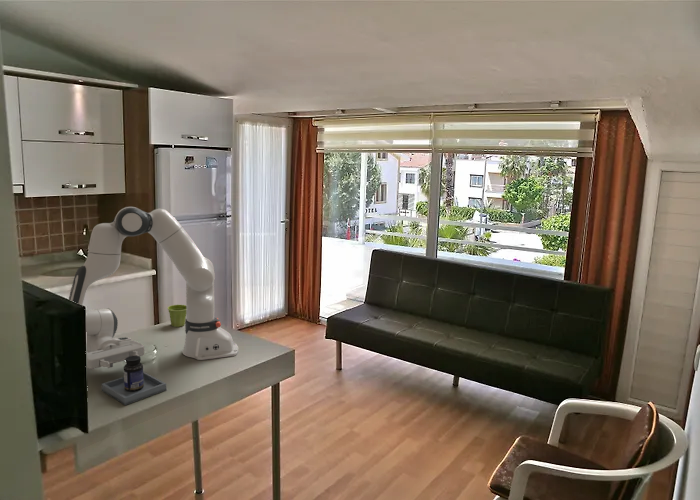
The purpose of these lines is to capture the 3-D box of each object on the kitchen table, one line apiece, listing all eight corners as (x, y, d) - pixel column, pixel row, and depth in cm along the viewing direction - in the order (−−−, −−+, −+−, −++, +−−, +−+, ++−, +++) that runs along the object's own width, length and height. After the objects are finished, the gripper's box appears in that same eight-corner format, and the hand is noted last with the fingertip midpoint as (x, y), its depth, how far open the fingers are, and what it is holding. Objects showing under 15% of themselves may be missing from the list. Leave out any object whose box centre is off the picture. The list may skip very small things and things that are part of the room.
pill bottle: (146, 385, 178) (146, 355, 176) (138, 392, 172) (137, 362, 170) (129, 383, 179) (128, 353, 177) (120, 391, 173) (119, 360, 171)
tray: (142, 377, 186) (142, 370, 185) (166, 390, 177) (166, 383, 176) (101, 390, 174) (101, 383, 174) (125, 405, 165) (124, 398, 165)
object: (190, 321, 247) (189, 304, 246) (186, 328, 238) (186, 310, 236) (169, 321, 246) (169, 304, 244) (165, 328, 237) (165, 310, 235)
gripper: (76, 349, 179) (93, 361, 170) (133, 336, 194) (151, 346, 185) (77, 366, 180) (94, 378, 171) (133, 351, 195) (151, 362, 186)
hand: (124, 361), depth 178 cm, fingers open, 8 cm apart
